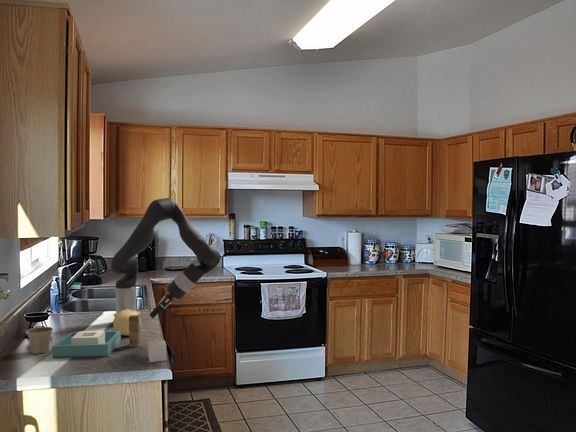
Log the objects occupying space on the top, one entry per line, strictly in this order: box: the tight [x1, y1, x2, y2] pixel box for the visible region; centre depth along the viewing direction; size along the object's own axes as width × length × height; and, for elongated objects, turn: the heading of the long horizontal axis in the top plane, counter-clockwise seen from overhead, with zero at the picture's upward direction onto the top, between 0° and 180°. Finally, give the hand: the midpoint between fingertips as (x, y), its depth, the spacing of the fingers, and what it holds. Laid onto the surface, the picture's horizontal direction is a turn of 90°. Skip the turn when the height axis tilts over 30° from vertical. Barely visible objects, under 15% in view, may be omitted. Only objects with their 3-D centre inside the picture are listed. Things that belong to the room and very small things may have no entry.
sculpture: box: [112, 309, 142, 336], centre depth 223 cm, size 12×12×11 cm
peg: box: [128, 314, 141, 348], centre depth 206 cm, size 4×4×12 cm
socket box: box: [52, 330, 122, 359], centre depth 200 cm, size 20×20×6 cm
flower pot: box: [25, 326, 54, 355], centre depth 198 cm, size 9×9×9 cm
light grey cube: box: [147, 339, 167, 363], centre depth 188 cm, size 6×6×6 cm
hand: (152, 314), depth 206 cm, fingers open, 8 cm apart
